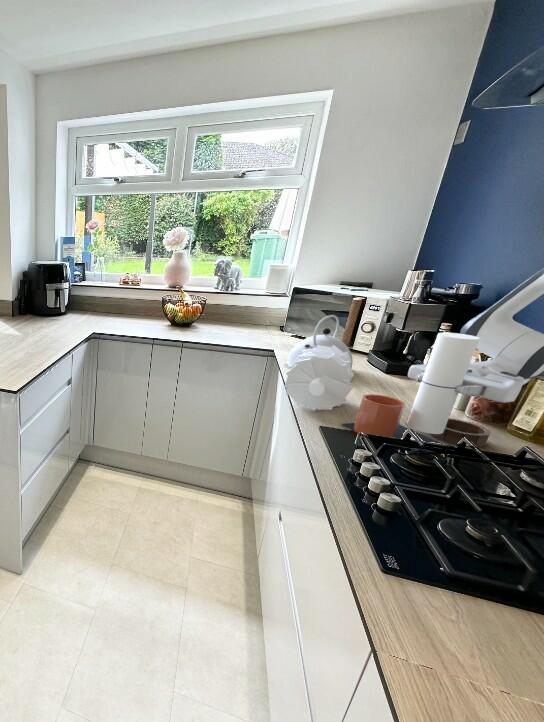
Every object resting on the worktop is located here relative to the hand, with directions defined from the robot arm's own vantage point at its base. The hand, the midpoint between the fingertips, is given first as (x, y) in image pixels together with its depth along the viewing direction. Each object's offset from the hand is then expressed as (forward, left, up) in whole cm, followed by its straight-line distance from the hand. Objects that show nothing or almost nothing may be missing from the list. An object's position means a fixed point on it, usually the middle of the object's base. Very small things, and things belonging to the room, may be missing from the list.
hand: (438, 384), depth 101 cm
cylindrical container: (0, -1, -13) cm, 13 cm away
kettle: (+64, -25, -17) cm, 71 cm away
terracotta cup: (+6, +7, -16) cm, 19 cm away
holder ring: (+1, -13, -16) cm, 21 cm away
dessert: (+22, -6, -22) cm, 32 cm away
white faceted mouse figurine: (+30, +5, -17) cm, 35 cm away
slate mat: (+3, +3, -16) cm, 17 cm away
